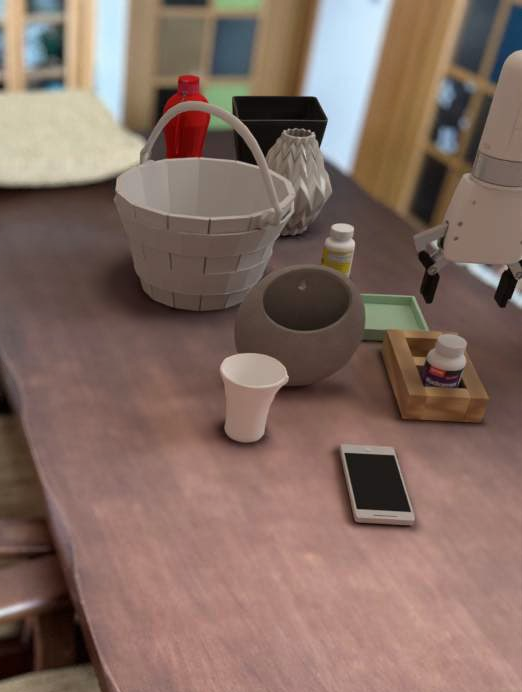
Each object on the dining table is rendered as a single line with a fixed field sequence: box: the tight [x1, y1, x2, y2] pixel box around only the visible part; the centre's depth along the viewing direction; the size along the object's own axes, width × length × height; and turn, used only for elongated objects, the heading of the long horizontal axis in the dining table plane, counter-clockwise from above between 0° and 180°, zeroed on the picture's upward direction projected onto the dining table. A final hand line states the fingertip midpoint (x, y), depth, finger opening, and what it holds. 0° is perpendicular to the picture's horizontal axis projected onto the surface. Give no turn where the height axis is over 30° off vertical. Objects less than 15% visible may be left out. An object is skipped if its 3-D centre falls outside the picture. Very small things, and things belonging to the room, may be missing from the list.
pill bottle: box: [420, 334, 468, 388], centre depth 118 cm, size 5×5×10 cm
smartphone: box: [339, 443, 416, 526], centre depth 105 cm, size 7×15×1 cm, turn 176°
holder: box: [380, 329, 490, 424], centre depth 123 cm, size 11×20×4 cm, turn 176°
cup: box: [219, 353, 289, 443], centre depth 111 cm, size 9×9×10 cm
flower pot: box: [231, 95, 329, 166], centre depth 183 cm, size 19×19×17 cm
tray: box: [360, 293, 430, 342], centre depth 139 cm, size 17×13×2 cm
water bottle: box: [162, 74, 212, 159], centre depth 171 cm, size 9×11×25 cm
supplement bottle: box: [320, 223, 356, 279], centre depth 149 cm, size 5×5×10 cm
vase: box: [265, 128, 333, 237], centre depth 164 cm, size 16×16×18 cm
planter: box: [233, 263, 366, 387], centre depth 118 cm, size 18×7×19 cm, turn 87°
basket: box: [113, 101, 296, 312], centre depth 139 cm, size 31×35×30 cm
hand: (462, 301), depth 111 cm, fingers open, 9 cm apart
